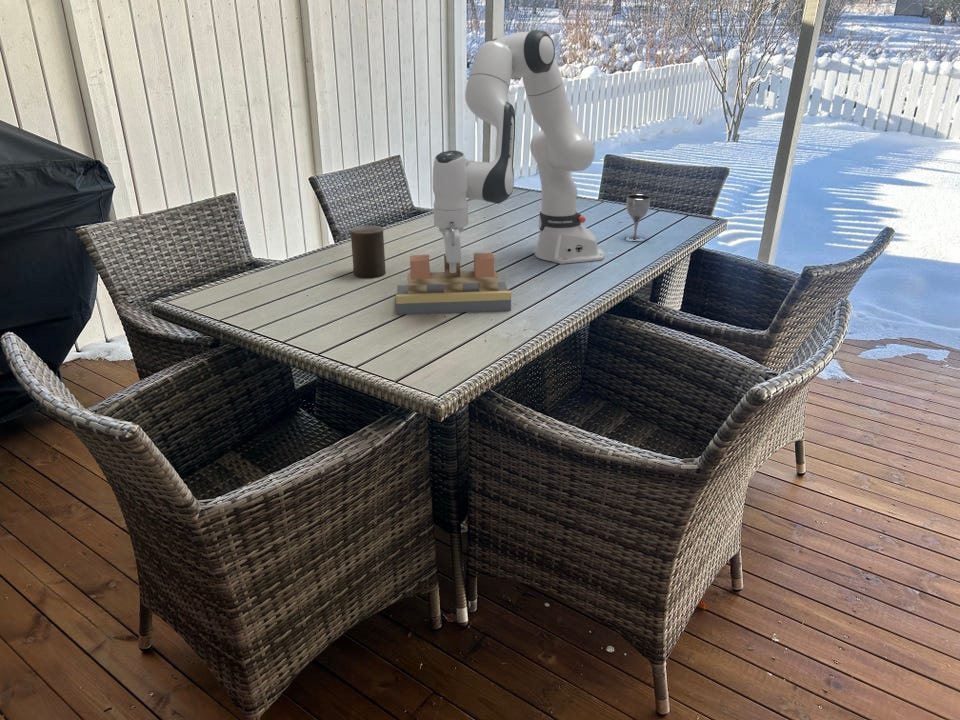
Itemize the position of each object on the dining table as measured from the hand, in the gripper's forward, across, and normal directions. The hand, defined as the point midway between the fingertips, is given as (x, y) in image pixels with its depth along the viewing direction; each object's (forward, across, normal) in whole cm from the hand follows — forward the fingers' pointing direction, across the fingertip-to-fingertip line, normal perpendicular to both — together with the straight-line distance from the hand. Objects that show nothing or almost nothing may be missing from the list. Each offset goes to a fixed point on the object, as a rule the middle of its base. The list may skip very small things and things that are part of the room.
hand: (452, 269), depth 180 cm
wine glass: (+10, +55, -67) cm, 87 cm away
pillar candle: (+10, +27, +24) cm, 38 cm away
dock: (+10, 0, 0) cm, 10 cm away
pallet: (+6, 0, 0) cm, 6 cm away
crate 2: (+2, 0, -8) cm, 9 cm away
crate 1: (+2, 0, +8) cm, 9 cm away
